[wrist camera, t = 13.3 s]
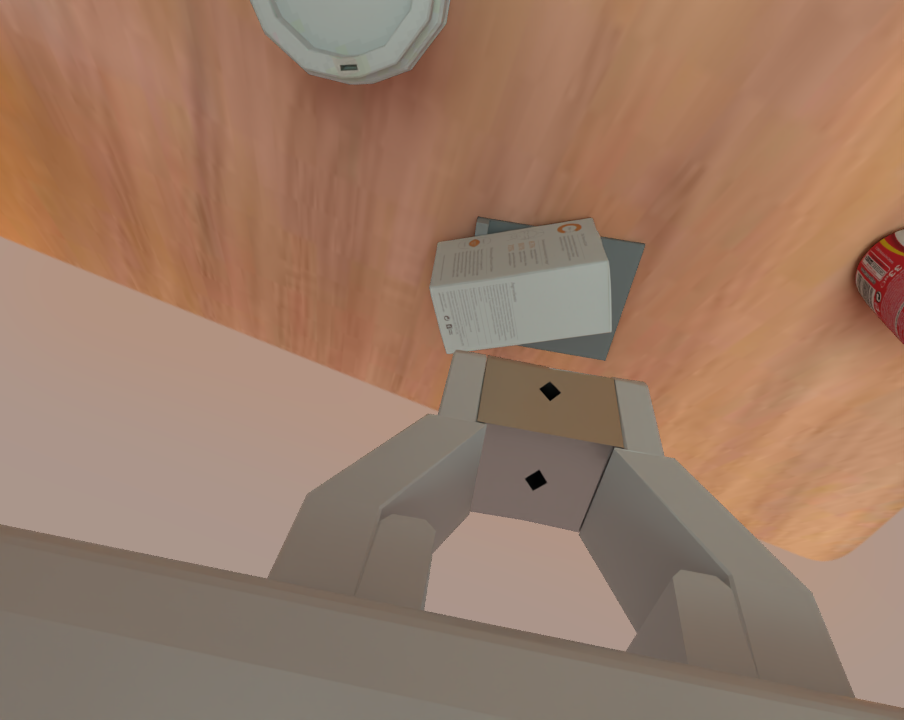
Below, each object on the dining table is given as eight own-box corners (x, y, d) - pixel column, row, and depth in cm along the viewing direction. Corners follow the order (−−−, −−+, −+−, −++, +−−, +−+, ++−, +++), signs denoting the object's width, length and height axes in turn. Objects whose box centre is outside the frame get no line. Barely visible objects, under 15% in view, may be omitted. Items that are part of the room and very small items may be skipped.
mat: (461, 333, 53) (459, 340, 52) (478, 216, 46) (476, 222, 45) (604, 358, 52) (606, 366, 51) (644, 243, 45) (646, 249, 44)
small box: (445, 356, 43) (613, 334, 41) (427, 286, 40) (610, 259, 37) (451, 304, 50) (597, 283, 48) (436, 240, 46) (593, 214, 44)
